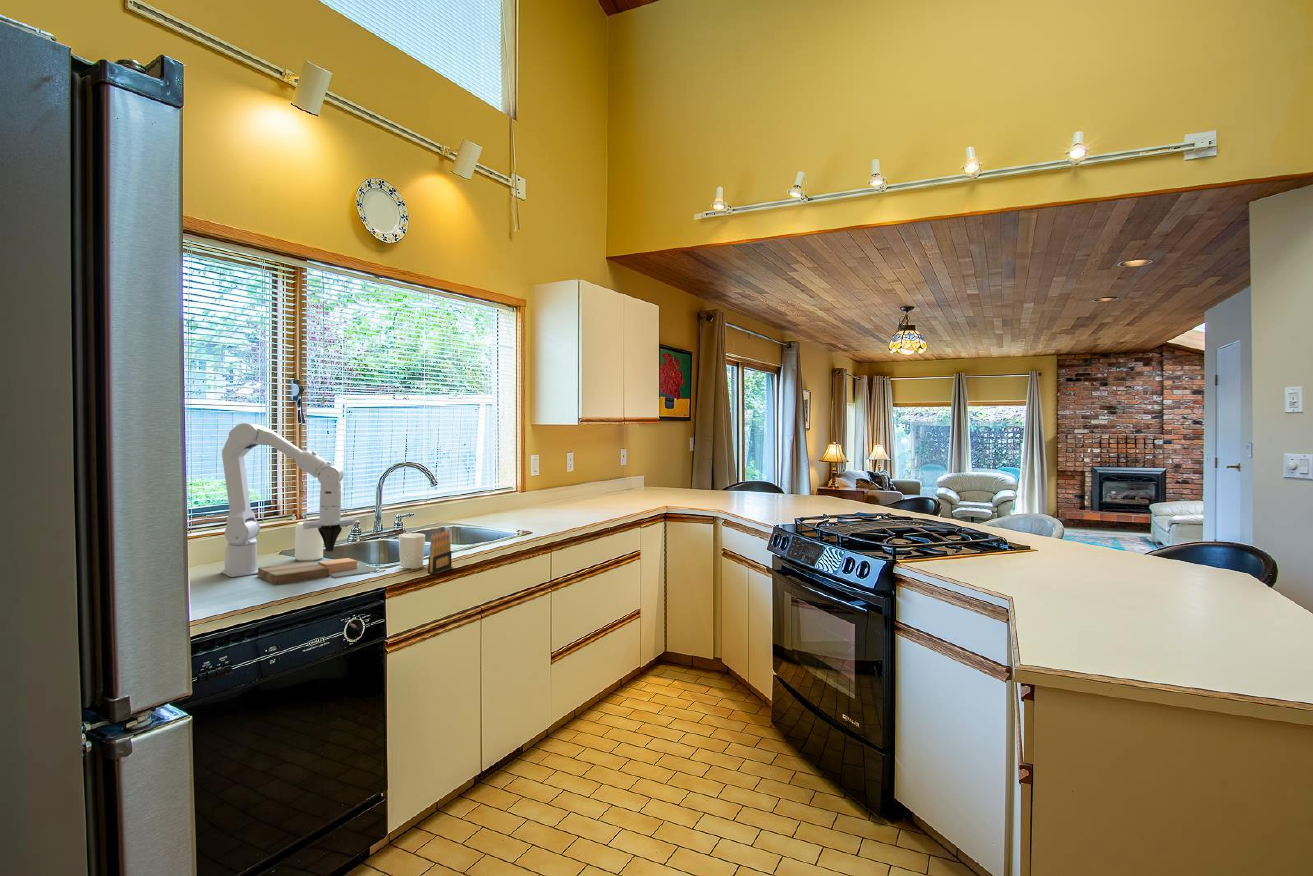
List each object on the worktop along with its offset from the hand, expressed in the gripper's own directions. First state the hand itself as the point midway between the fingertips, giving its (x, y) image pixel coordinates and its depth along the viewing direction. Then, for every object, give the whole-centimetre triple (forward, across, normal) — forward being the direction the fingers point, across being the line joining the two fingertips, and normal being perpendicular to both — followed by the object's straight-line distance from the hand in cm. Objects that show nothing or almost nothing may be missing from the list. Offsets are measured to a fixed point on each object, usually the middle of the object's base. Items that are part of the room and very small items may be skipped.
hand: (329, 551), depth 197 cm
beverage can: (+6, +3, +23) cm, 24 cm away
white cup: (+6, +21, -10) cm, 24 cm away
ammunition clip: (+6, +25, -20) cm, 33 cm away
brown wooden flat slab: (+6, -10, 0) cm, 12 cm away
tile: (+5, +2, 0) cm, 5 cm away
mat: (+6, +5, -1) cm, 8 cm away
